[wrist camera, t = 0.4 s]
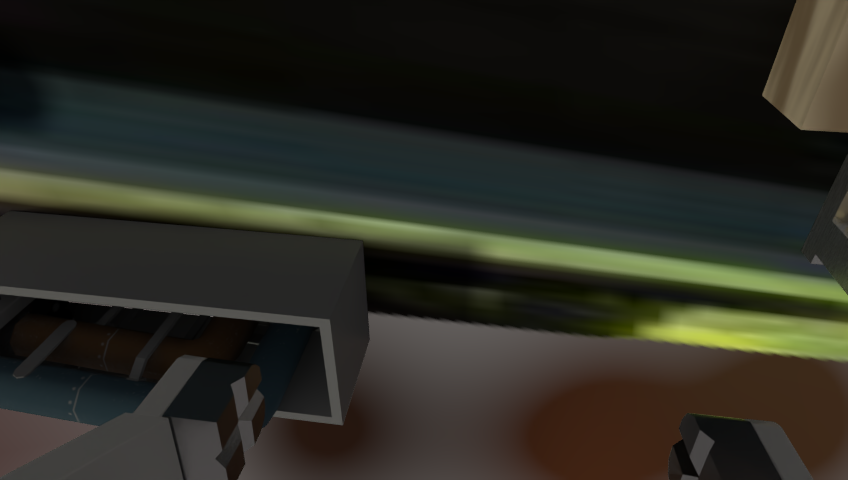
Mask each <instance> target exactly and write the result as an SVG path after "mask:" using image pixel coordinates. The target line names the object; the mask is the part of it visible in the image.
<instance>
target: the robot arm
mask: <svg viewBox="0 0 848 480" xmlns="http://www.w3.org/2000/svg"><path fill="white" fill-rule="evenodd" d="M261 380H262V378H261V372H260V367H259V366H258V365H256V364H252V363H245V362H238V361H230V360H223V359H216V358H204V357H197V356H191V355H183V356H181V357H179V358H177V359H176V361H175V362H174V363H173V364H172V366H171V367H170V368H169V369H168V370H167V372H166V373H165V374H164V375H163V377H162V378H161V379H160V380H159V382H158V383H157V384H156V385H155V387H154V388H153V389H152V390H151V392H150V393H149V394H148V395H147V397H146V398H145V399H144V400H143V401H142V403H141V404H140V405H139V406H138V408H137V409H136V410H135V411H134V413H124V414H122V415H120V416H118V417H116V418H114V419H112V420H110V421H108V422H106V423H104V424H102V425H101V426H99V427H97V428H95V429H93V430H91V431H89V432H87V433H85V434H83V435H81V436H79V437H77V438H76V439H73V440H72V441H70V442H68V443H66V444H64V445H62V446H60V447H58V448H56V449H54V450H52V451H50V452H49V453H46V454H45V455H43V456H41V457H39V458H37V459H35V460H33V461H31V462H29V463H27V464H25V465H23V466H22V467H19V468H18V469H16V470H14V471H12V472H10V473H8V474H6V475H4V476H2V477H0V480H237V479H238V477H239V475H240V474H241V471H242V470H243V468H244V465H245V458H244V452H245V451H246V450H248V449H249V448H251V447H252V446H254V445H255V443H256V441H257V439H258V437H259V435H260V433H261V429H262V426H263V422H264V418H265V400H264V396H263V395H262V394H261V393H260V392H259V391H258V389H257V387H258V386H259V384H260V382H261ZM679 430H680V432H681V435H682V438H683V439H682V440H681V441H679V442H678V443H676V444H675V445H673V447H672V450H671V453H670V456H669V465H668V466H669V467H668V476H669V480H813V478H812V477H811V475H810V473H809V472H808V470H807V468H806V467H805V465H804V464H803V462H802V460H801V459H800V457H799V455H798V454H797V452H796V450H795V449H794V447H793V446H792V444H791V442H790V441H789V439H788V437H787V436H786V434H785V433H784V431H783V429H782V428H781V426H779V425H778V424H777V423H775V422H770V421H760V420H750V419H744V420H743V419H738V418H728V417H719V416H709V415H699V414H690V413H687V414H686V415H685V416H684V418H683V419H682V422H681V424H680V427H679Z"/></svg>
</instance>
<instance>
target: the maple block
mask: <svg viewBox="0 0 848 480" xmlns="http://www.w3.org/2000/svg"><path fill="white" fill-rule="evenodd" d="M762 96H764V97H765V98H766V99H767V100H768V101H769V102H770V103H771V104H773V105H774V106H775V107H776V108H777V109H778V110H779V111H780V112H781V113H783V114H784V115H785V116H786V117H787V118H788V119H789V120H790V121H792V122H793V123H794V124H795V125H796V126H797V127H798V128H799V129H801V130H816V131H834V132H848V0H797V1H796V4H795V7H794V10H793V12H792V15H791V18H790V21H789V23H788V26H787V29H786V32H785V34H784V37H783V40H782V43H781V45H780V48H779V51H778V54H777V56H776V59H775V62H774V65H773V67H772V70H771V73H770V76H769V78H768V81H767V84H766V87H765V89H764V92H763V95H762Z"/></svg>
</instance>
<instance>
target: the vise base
mask: <svg viewBox="0 0 848 480" xmlns="http://www.w3.org/2000/svg"><path fill="white" fill-rule="evenodd" d="M801 251H802V253H803V254H804V255H805V256H806V258H807V259H808V260H809V262H810V263H811V264H823V265H824V266H825V267H826V268H827V270H828V271H829V272H830V273H831V275H832V276H833V277H834V278H835V280H836V281H837V282H838V283H839V285H840V286H841V287H842V289H843V290H844V291H845V292H846V294H847V295H848V154H847V156H846V159H845V161H844V163H843V165H842V167H841V169H840V171H839V173H838V175H837V177H836V179H835V181H834V183H833V185H832V188H831V190H830V192H829V194H828V196H827V198H826V200H825V202H824V204H823V206H822V208H821V210H820V212H819V214H818V216H817V219H816V221H815V223H814V225H813V227H812V229H811V231H810V233H809V235H808V237H807V239H806V241H805V243H804V245H803V247H802V250H801Z"/></svg>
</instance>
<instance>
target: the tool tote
mask: <svg viewBox="0 0 848 480" xmlns="http://www.w3.org/2000/svg"><path fill="white" fill-rule="evenodd" d="M0 294H5V295H14V296H24V297H34V298H43V299H53V300H63V301H72V302H82V303H92V304H101V305H111V306H121V307H130V308H140V309H151V310H159V311H169V312H179V313H190V314H199V315H208V316H217V317H227V318H236V319H246V320H256V321H265V322H275V323H285V324H294V325H304V326H314V327H320V331H313V332H312V334H311V336H310V339H309V341H308V343H307V345H306V347H305V350H304V352H303V354H302V356H301V358H300V361H299V363H298V365H297V367H296V370H295V372H294V374H293V376H292V378H291V381H290V383H289V385H288V387H287V390H286V392H285V394H284V396H283V398H282V401H281V403H280V405H279V407H278V409H277V411H276V412H275V414H274V415H273V417H282V418H290V419H298V420H305V421H313V422H321V423H330V424H337V425H343V423H344V420H345V416H346V413H347V410H348V407H349V404H350V400H351V397H352V394H353V391H354V388H355V384H356V381H357V378H358V375H359V372H360V369H361V365H362V362H363V359H364V356H365V353H366V349H367V346H368V343H369V340H370V338H369V326H368V325H369V324H368V310H367V295H366V281H365V267H364V252H363V241H361V240H349V239H337V238H325V237H313V236H302V235H290V234H278V233H266V232H254V231H242V230H231V229H219V228H207V227H195V226H183V225H171V224H160V223H148V222H136V221H124V220H112V219H100V218H88V217H77V216H65V215H53V214H41V213H29V212H17V211H9V212H7V213H6V214H4V215H3V216H1V217H0ZM72 302H69V304H70V307H71V310H72V312H73V315H74V318H75V320H78V321H84V322H90V323H95V322H98V321H99V320H100V319H101V318H102V316H103V315H104V314H105V313H106V312H107V311H108V310H109V309H110V308H111V307H109V306H101V305H91V304H81V303H72ZM130 311H131V309H129V308H123V309H122V310H121V311H120V312H119V313H118V314H117V316H116V317H115V318H114V319H113V320H112V321H111V322H110V323H111V324H113V325H114V327H117V326H118V325H119V324H120V322H121V321H122V320H123V319H124V318H125V316H126V315H127V314H128V313H129V312H130ZM159 311H149V310H142V312H141V313H140V314H139V315H138V316H137V318H136V319H135V320H134V321H133V322H132V324H131V325H130V326H129V327H128V328H127V329H131V330H137V331H143V332H148V333H154V334H155V333H156V331H157V330H158V329H159V328H160V326H161V325H162V324H163V322H164V321H165V320H166V319H167V317H168V316H169V315H170V314H171V313H168V312H159ZM198 317H199V316H197V315H187V314H182V315H181V317H180V318H179V319H178V321H177V322H176V323H175V325H174V326H173V327H172V329H171V330H170V331H169V333H168V334H167V335H166V336H172V337H178V338H184V337H185V335H186V334H187V333H188V331H189V330H190V328H191V327H192V326H193V324H194V323H195V321H196V320H197V319H198ZM212 318H213V317H209V318H208V320H207V321H206V323H205V324H204V326H203V327H202V329H201V330H200V331H199V333H198V334H197V336H196V337H195V339H197V338H199V337H200V336H201V334H202V333H203V331H204V330H205V328H206V327H207V325H208V324H209V322H210V321H211V320H212ZM268 327H269V326H264V325H257V327H256V329H255V330H254V332H253V333H256V334H262V335H264V334H265V332H266V330H267V329H268ZM257 347H258V345H256V344H250V343H247V344H246V346H245V348H244V349H243V351H242V353H241V355H240V356H239V357H238V358H237V359H236V360H235V361H238V362H245V363H249V361H250V359H251V358H252V356H253V354H254V352H255V350H256V349H257ZM42 363H45V364H51V365H57V366H62V367H64V365H65V364H64V363H58V362H52V361H47V360H44V361H43V362H42ZM79 370H85V371H91V372H96V373H102V374H108V375H114V376H119V377H125V378H127V377H129V376H130V375H126V374H121V373H115V372H109V371H104V370H98V369H92V368H87V367H80V368H79ZM145 379H146V381H148V382H152V381H153V380H154V379H149V378H145Z"/></svg>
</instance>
